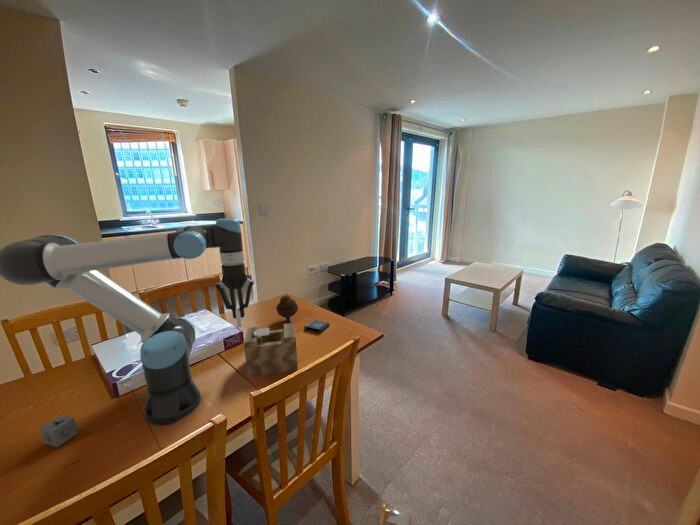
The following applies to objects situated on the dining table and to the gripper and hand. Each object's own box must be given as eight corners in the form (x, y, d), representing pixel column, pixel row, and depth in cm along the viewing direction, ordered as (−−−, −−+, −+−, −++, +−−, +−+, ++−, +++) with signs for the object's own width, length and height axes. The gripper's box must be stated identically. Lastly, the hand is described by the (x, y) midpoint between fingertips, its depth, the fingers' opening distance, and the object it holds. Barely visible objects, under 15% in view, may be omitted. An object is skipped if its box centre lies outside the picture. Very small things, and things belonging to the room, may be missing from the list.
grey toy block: (57, 447, 78) (52, 431, 77) (44, 443, 79) (39, 427, 78) (78, 432, 83) (74, 417, 82) (65, 429, 84) (61, 414, 83)
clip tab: (252, 337, 108) (252, 335, 107) (253, 331, 112) (253, 329, 112) (269, 335, 109) (268, 332, 109) (269, 329, 113) (269, 327, 113)
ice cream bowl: (273, 327, 146) (270, 299, 142) (284, 318, 156) (282, 291, 153) (292, 330, 143) (290, 301, 139) (302, 320, 153) (301, 293, 150)
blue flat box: (303, 325, 140) (315, 318, 149) (303, 331, 140) (315, 323, 150) (320, 329, 136) (331, 321, 145) (320, 335, 136) (331, 327, 146)
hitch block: (247, 377, 107) (243, 342, 104) (250, 359, 118) (247, 327, 115) (297, 369, 111) (295, 336, 107) (296, 353, 122) (294, 322, 119)
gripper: (210, 267, 98) (218, 332, 103) (251, 264, 100) (257, 328, 106) (215, 262, 105) (222, 323, 110) (253, 259, 108) (259, 319, 113)
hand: (239, 325), depth 108 cm, fingers closed
